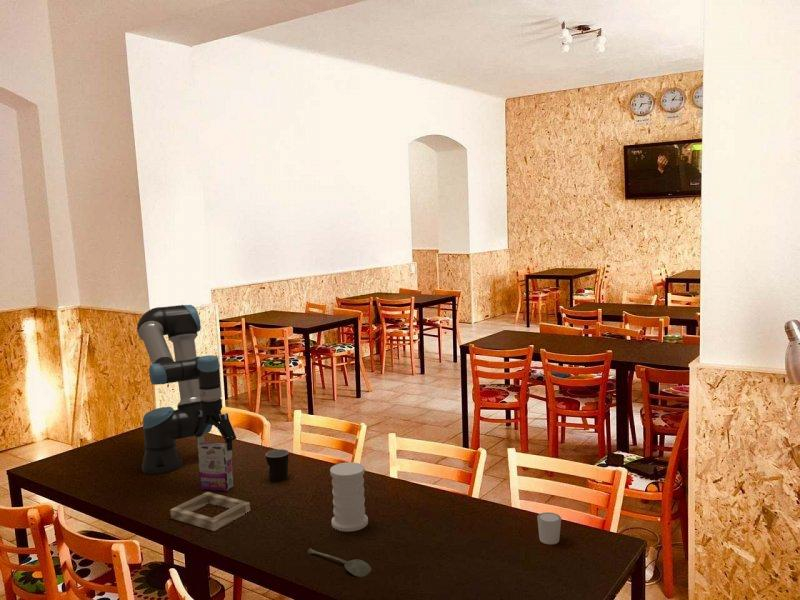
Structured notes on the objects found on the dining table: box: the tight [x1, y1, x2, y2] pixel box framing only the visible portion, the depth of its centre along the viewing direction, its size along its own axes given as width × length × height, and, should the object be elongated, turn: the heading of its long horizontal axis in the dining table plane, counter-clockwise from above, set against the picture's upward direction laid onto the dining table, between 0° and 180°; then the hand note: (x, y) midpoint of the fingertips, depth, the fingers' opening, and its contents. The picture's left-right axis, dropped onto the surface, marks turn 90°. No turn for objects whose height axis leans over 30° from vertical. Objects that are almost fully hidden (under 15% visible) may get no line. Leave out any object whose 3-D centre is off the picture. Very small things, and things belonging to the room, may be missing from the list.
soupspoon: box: [307, 547, 372, 578], centre depth 185 cm, size 22×3×7 cm
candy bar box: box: [196, 442, 234, 492], centre depth 240 cm, size 11×5×16 cm, turn 76°
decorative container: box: [329, 461, 369, 533], centre depth 208 cm, size 12×12×18 cm
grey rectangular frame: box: [169, 491, 251, 532], centre depth 218 cm, size 20×16×3 cm
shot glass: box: [536, 512, 562, 545], centre depth 193 cm, size 7×7×7 cm
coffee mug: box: [264, 448, 290, 483], centre depth 248 cm, size 12×9×10 cm
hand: (215, 456), depth 239 cm, fingers open, 13 cm apart
